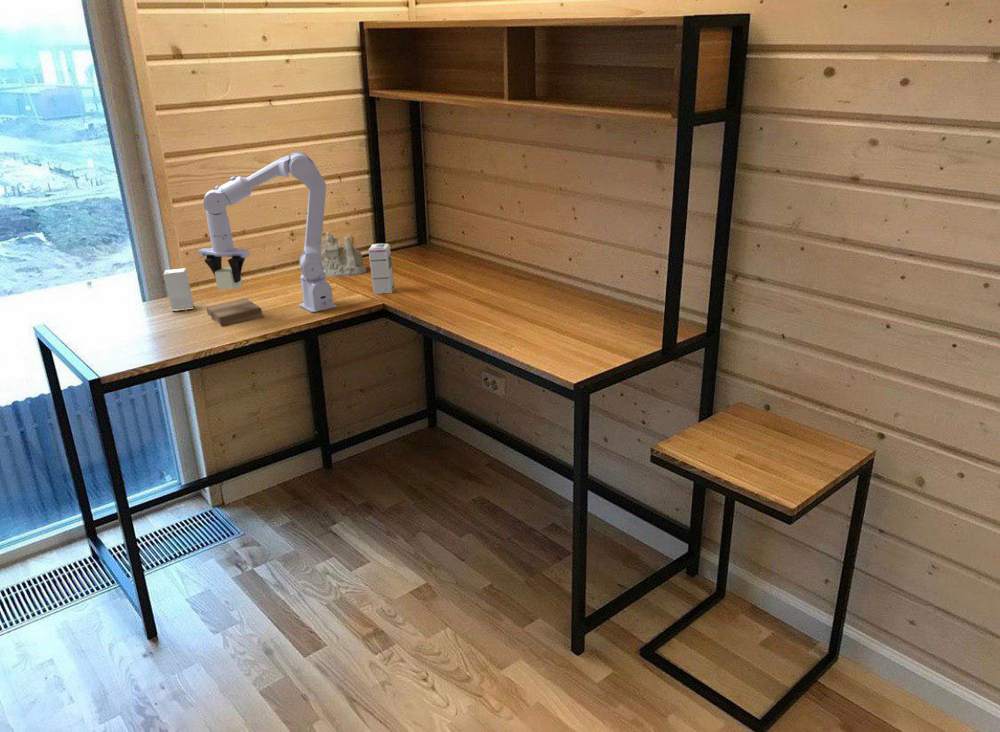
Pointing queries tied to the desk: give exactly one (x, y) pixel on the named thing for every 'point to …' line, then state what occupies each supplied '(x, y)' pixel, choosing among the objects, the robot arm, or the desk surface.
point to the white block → (226, 279)
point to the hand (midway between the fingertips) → (228, 281)
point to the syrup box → (381, 268)
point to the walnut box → (234, 311)
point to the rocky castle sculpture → (341, 258)
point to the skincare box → (178, 288)
